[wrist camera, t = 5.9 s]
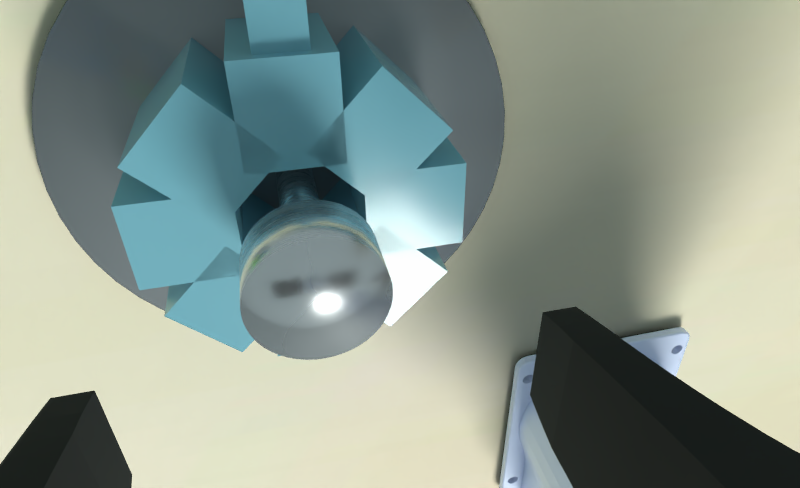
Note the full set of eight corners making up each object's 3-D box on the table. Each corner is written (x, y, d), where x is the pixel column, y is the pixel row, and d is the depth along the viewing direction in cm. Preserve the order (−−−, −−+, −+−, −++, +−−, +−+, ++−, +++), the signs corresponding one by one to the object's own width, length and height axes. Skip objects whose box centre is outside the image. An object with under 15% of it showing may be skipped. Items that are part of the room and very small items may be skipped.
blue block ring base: (485, 293, 22) (529, 370, 19) (118, 355, 20) (95, 455, 16) (521, -124, 14) (603, -118, 11) (-66, -108, 12) (-174, -94, 9)
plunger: (347, 203, 18) (394, 345, 13) (246, 217, 17) (253, 370, 12) (340, 109, 16) (391, 228, 11) (228, 120, 15) (226, 251, 10)
